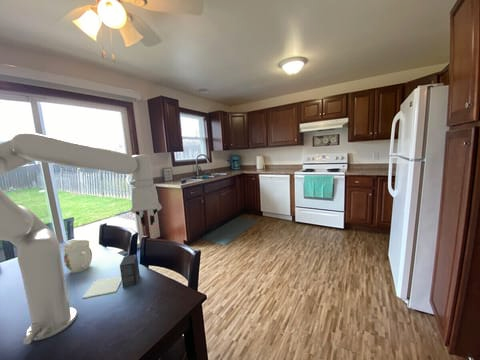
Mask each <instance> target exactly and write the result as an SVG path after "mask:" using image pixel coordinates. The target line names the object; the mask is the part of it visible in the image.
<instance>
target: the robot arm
mask: <svg viewBox="0 0 480 360" xmlns="http://www.w3.org/2000/svg"><path fill="white" fill-rule="evenodd" d="M33 162H40V163H47V164H52V165H53V164H54V165H58V166H63V167H64V166H65V167H71V168H78V169H86V170H87V169H91V170H92V169H93V170H100V171H106V172H111V173H114V174H118V175H119V174H120V175H132V179H133V180H132V181H130V182H129V184H130V186H133V187H132V189H131V206H132V207H131V209H130V213H133V214H136V215H138V217H140V224H141V225H142V227H145V226H146V225H147V220H146V219H147V218H146V215H145V213H144V212H145V211H149V212H150V215H149V220H150V221H149V223H150V225H151V226H153V225H154V223H156V222H155V215H156V213H157V212H159V211H160V210H162V209H163V206H162V204H161V203H160V201H159V196H158V191H157V187H156V185H154V177H153V169H152V168H153V167H152V161H151V156H150V155H148V154H134V155H131V154H127V153H123V152H118V151H117V150H111V149H106V148H101V147H95V146H92V145H89V144H83V143H79V142H74V141H71V140H70V141H69V140H65V139H60V138H57V137H53V136H50V135H45V134H44V135H43V134H40V133H35V132H30V131H29V132H27V131H26V132H24V131H23V132H20V133H17V134H16V135H14V136H13V137H12V139H10V140H7V141H5V142H2V143H0V176H2V175H4V174H7V173H10V172H11V171H14V170H16V169H18V168H21V167H24V166H26V165H29V164H31V163H33ZM0 240H1V241H4V242H5V241H7V242H8V241H9V242H10V243H11V244H12V245H13V246H14V247H16V248H17V254H16V255H17V263H18V267H19V270H20V273H21V277H22V279H21V280H22V283H23V287H24V292H25V297H26V301H27V307H28V311H29V317H30V322H31V324H30V326H29V327H28V328H27V330H26V332H25V333H26V337H25V338H24V339H23V340H22V342H23V344H24V345H30V344H31V342H33V341H40V340H41V341H42V340H44V339H47V338H50V337H53V336H55V335H57V334H58V333H60V332H62V331H63V330H66V328H68V327H69V326H70V325H72V324H73V322H74V321H75V320H76V319H77V315H78V312H77V309H75V308H74V307H71V306H70V301H69V294H68V288H67V282H66V277H65V271H64V266H63V258H62V249H61V245H60V242H59V239H58V237H57V236H56V234H55V232H54V231H53V230H52V229H51V228H50V227H49V226H47V225H46V223H44V222H43V220H41V219H40V218H39V217H38V216H37V215H36V214H35V213H34V212H33V211H32V210H30V209H29V208H28V207H26V206H23V205H19V204H17V203H16V202H15V201H14V200H12V199H11V198H10V197H9V196H8V194H7V193H6V192H5V191H4V190H2V189H1V188H0Z"/></svg>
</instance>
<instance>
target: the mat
mask: <svg viewBox="0 0 480 360" xmlns="http://www.w3.org/2000/svg"><path fill="white" fill-rule="evenodd" d="M121 285H122V278H121V275H118V276H112V277H106V278H100V279H95V280H94V281H93V283H92V284H91V286H89V289H87V291H86V292H85V293H84V294H83V296H82V299H88V298H93V297H99V296H104V295H108V294H114V293H117V291H118V289H119V287H120V286H121Z"/></svg>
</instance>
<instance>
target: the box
mask: <svg viewBox="0 0 480 360" xmlns="http://www.w3.org/2000/svg"><path fill="white" fill-rule="evenodd" d="M138 260H139V259H138V254H131V255H126V256H123V258H122V260H121V262H120V264H119V270H120V276H121V278H122V282H121V285H122V288H123V289H124V288H129V287H133V286H137V285H138V282H139V279H140V275H141V273H140V267H139V266H140V265H139V261H138Z"/></svg>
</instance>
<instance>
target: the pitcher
mask: <svg viewBox="0 0 480 360" xmlns="http://www.w3.org/2000/svg"><path fill="white" fill-rule="evenodd" d="M62 249H63V251H64V257H63V260H64V264H65V266H66V268H67V270H68V271H70V272H71V273H72V274H77V273H81V272H84V271H86V270H87V269H89V267H90V265H91V263H92V258H93V252H92V249H91V248H90V240H86V239H82V240H79V239H78V240H76V239H71V240H69V241H68V242H67V243H66V244H65V245H63V248H62Z"/></svg>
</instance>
